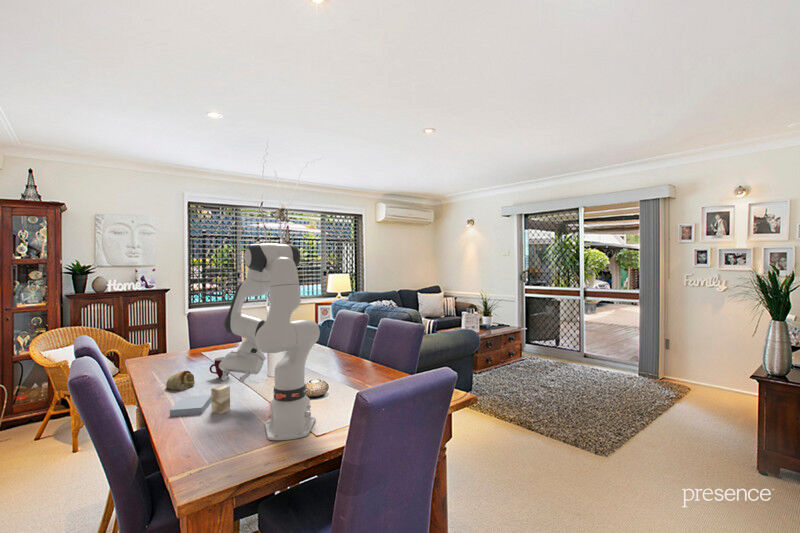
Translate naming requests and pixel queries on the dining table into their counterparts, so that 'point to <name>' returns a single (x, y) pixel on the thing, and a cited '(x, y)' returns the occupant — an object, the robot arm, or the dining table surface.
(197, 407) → the base plate
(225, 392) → the maple block
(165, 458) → the dining table surface
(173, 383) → the pastry
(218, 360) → the mug
